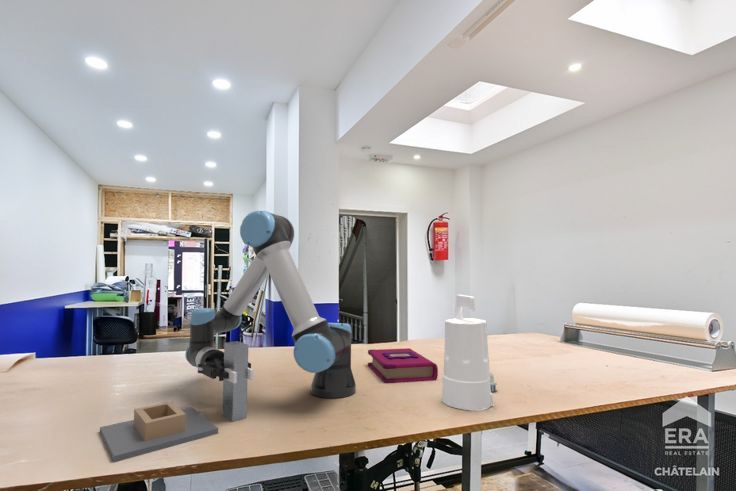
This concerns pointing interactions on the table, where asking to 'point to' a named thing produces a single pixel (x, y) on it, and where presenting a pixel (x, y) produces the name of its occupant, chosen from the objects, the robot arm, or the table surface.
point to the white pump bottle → (466, 360)
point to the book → (402, 366)
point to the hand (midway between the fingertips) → (243, 376)
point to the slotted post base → (137, 446)
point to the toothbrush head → (492, 383)
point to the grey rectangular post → (237, 392)
